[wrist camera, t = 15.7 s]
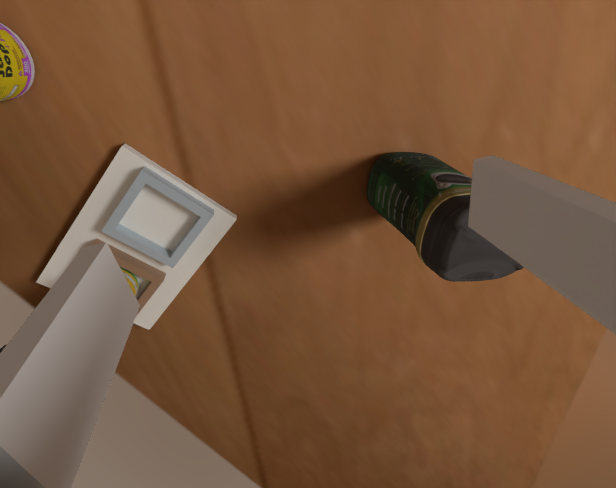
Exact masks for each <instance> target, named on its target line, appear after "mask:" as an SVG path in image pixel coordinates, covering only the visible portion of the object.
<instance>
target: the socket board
mask: <svg viewBox="0 0 616 488" xmlns="http://www.w3.org/2000/svg"><path fill="white" fill-rule="evenodd" d="M236 220H237V215H235V214H234V213H232V212H230V211H229V210H227V209H226V208H224V207H223V206H221V205H220V204H218V203H217V202H215V201H213V200H212V199H210V198H209V197H207V196H206V195H204V194H203V193H201V192H200V191H198V190H196V189H195V188H193V187H192V186H190V185H189V184H187V183H186V182H184V181H183V180H181V179H179V178H178V177H176V176H175V175H173V174H172V173H170V172H169V171H167V170H166V169H164V168H162V167H161V166H159V165H158V164H156V163H155V162H153V161H152V160H150V159H149V158H147V157H145V156H144V155H142V154H141V153H139V152H138V151H136V150H135V149H133V148H132V147H130V146H128V145H127V144H123V145H122V146H121V148H120V149H119V151H118V153H117V154H116V156H115V157H114V159H113V161H112V162H111V164H110V165H109V167H108V169H107V170H106V172H105V173H104V175H103V176H102V178H101V180H100V181H99V183H98V184H97V186H96V188H95V189H94V191H93V192H92V194H91V196H90V197H89V199H88V200H87V202H86V203H85V205H84V207H83V208H82V210H81V211H80V213H79V215H78V216H77V218H76V219H75V221H74V223H73V224H72V226H71V227H70V229H69V231H68V232H67V234H66V235H65V237H64V238H63V240H62V242H61V243H60V245H59V246H58V248H57V250H56V251H55V253H54V254H53V256H52V258H51V259H50V261H49V262H48V264H47V265H46V267H45V269H44V270H43V272H42V273H41V275H40V277H39V278H38V280H37V281H36V283H39V284H41V285H44V286H46V287H48V288H52V287H53V285H54V284H55V283H56V281H57V280H58V279H59V278H60V276H61V275H62V274H63V272H64V271H65V270H66V269H67V267H68V266H69V265H70V264H71V262H72V261H73V260H74V258H75V257H76V256H77V255H78V253H79V252H80V251H81V250H82V248H83V247H88V246H92V245H96V244H101V243H105V242H107V244H108V246H109V248H110V250H111V251H112V253H113V255H114V257H115V259H116V261H117V263H118V265H119V266H120V267H122V268H124V269H126V270H128V271H130V272H132V273H134V274H136V275H137V277H138V280H139V289H138V292H137V294H136V299H137V301H138V303H139V304H140V307H139V309H138V312H137V315H136V317H135V320H134V324H137V325H139V326H141V327H144V328H146V329H149V330H150V328H151V327H152V326H153V325H154V323H155V322H156V321H157V319H158V318H159V317H160V316H161V314H162V313H163V312H164V311H165V309H166V308H167V307H168V306H169V304H170V303H171V302H172V301H173V299H174V298H175V297H176V296H177V294H178V293H179V292H180V290H181V289H182V288H183V287H184V285H185V284H186V283H187V282H188V280H189V279H190V278H191V277H192V275H193V274H194V273H195V272H196V270H197V269H198V268H199V266H200V265H201V264H202V263H203V261H204V260H205V259H206V258H207V256H208V255H209V254H210V253H211V251H212V250H213V249H214V248H215V246H216V245H217V244H218V243H219V241H220V240H221V239H222V237H223V236H224V235H225V234H226V232H227V231H228V230H229V229H230V227H231V226H232V225H233V224H234V222H235V221H236Z"/></svg>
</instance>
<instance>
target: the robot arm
mask: <svg viewBox="0 0 616 488" xmlns="http://www.w3.org/2000/svg"><path fill="white" fill-rule="evenodd" d="M468 226H469V227H470V228H471V229H473V230H474V231H475V232H477V233H478V234H480V235H481V236H482V237H484V238H485V239H486V240H488V241H489V242H490V243H492V244H493V245H495V246H496V247H497V248H499V249H500V250H501V251H503V252H504V253H505V254H507V255H508V256H510V257H511V258H512V259H514V260H515V261H516V262H518V263H519V264H520V265H522V266H523V267H525V268H526V269H527V270H529V271H530V272H531V273H533V274H534V275H535V276H537V277H538V278H540V279H541V280H542V281H544V282H545V283H546V284H548V285H549V286H550V287H552V288H553V289H555V290H556V291H557V292H559V293H560V294H561V295H563V296H564V297H565V298H567V299H568V300H570V301H571V302H572V303H574V304H575V305H576V306H578V307H579V308H580V309H582V310H583V311H585V312H586V313H587V314H589V315H590V316H591V317H593V318H594V319H596V320H597V321H598V322H600V323H601V324H602V325H604V326H605V327H606V328H608V329H609V330H611V331H612V332H613V333H615V334H616V203H615V202H612V201H609V200H607V199H604V198H602V197H599V196H597V195H594V194H591V193H589V192H586V191H584V190H581V189H579V188H576V187H573V186H571V185H568V184H566V183H563V182H561V181H558V180H555V179H553V178H550V177H548V176H545V175H543V174H540V173H537V172H535V171H532V170H530V169H527V168H525V167H522V166H519V165H517V164H514V163H512V162H509V161H506V160H504V159H501V158H499V157H496V156H494V155H492V156H488V157H483V158H479V159H474V161H473V173H472V185H471V197H470V209H469V221H468ZM139 307H140V304H139V303H138V301H137V299H136V297H135V295H134V293H133V291H132V289H131V287H130V286H129V284H128V282H127V280H126V278H125V276H124V274H123V272H122V270H121V268H120V267H119V265H118V263H117V261H116V259H115V257H114V255H113V253H112V251H111V250H110V248H109V246H108V244H107V242H105V243H101V244H96V245H92V246H88V247H83V248H82V250H81V251H80V252H79V253H78V255H77V256H76V257H75V258H74V260H73V261H72V262H71V264H70V265H69V266H68V267H67V269H66V270H65V271H64V272H63V274H62V275H61V276H60V278H59V279H58V280H57V281H56V283H55V284H54V285H53V287H52V288H51V289H50V290H49V292H48V293H47V294H46V295H45V297H44V298H43V299H42V301H41V302H40V303H39V304H38V306H37V307H36V308H35V309H34V311H33V312H32V313H31V315H30V316H29V317H28V318H27V320H26V321H25V322H24V324H23V325H22V326H21V327H20V329H19V330H18V331H17V333H16V334H15V335H14V336H13V338H12V339H11V340H10V341H9V343H8V344H7V345H4V346H3V347H2V348H1V349H0V488H71V487H72V484H73V482H74V479H75V476H76V474H77V471H78V469H79V466H80V463H81V461H82V458H83V455H84V452H85V450H86V447H87V445H88V442H89V439H90V437H91V434H92V431H93V429H94V426H95V423H96V421H97V418H98V416H99V413H100V410H101V408H102V405H103V402H104V400H105V397H106V394H107V391H108V389H109V386H110V384H111V381H112V378H113V376H114V373H115V370H116V368H117V365H118V362H119V360H120V357H121V354H122V352H123V349H124V346H125V344H126V341H127V338H128V336H129V333H130V330H131V328H132V325H133V323H134V320H135V317H136V315H137V312H138V309H139Z"/></svg>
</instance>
